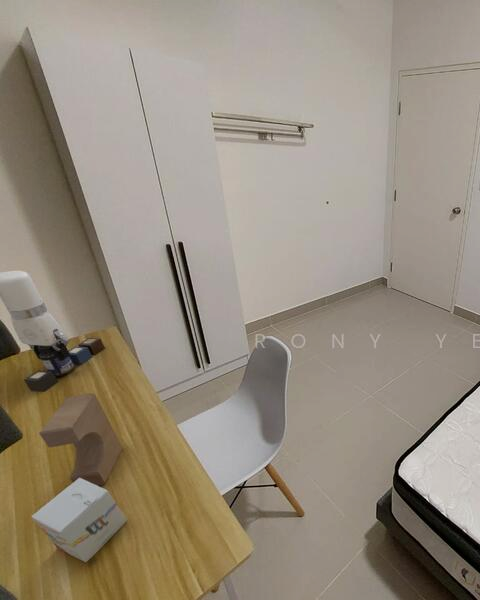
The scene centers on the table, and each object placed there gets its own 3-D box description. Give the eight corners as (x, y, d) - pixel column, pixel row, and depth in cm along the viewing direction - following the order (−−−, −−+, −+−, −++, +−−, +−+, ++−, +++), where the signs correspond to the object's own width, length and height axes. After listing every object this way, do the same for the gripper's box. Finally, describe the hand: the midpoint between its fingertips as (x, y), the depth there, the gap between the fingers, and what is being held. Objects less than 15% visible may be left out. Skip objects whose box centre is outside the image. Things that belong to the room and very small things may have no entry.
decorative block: (104, 485, 78) (69, 428, 69) (75, 491, 77) (35, 433, 67) (124, 447, 88) (96, 391, 78) (99, 451, 86) (66, 395, 77)
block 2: (81, 365, 115) (75, 354, 113) (68, 364, 115) (63, 353, 113) (92, 357, 119) (87, 346, 117) (80, 356, 119) (75, 346, 117)
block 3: (94, 355, 120) (89, 345, 117) (82, 354, 120) (77, 344, 117) (105, 348, 124) (100, 338, 121) (93, 347, 124) (88, 337, 121)
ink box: (55, 548, 67) (27, 515, 61) (100, 508, 74) (79, 475, 68) (85, 564, 65) (59, 532, 59) (128, 521, 72) (109, 488, 66)
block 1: (44, 391, 103) (37, 380, 101) (30, 390, 103) (23, 379, 101) (58, 381, 107) (51, 371, 105) (44, 380, 107) (38, 370, 105)
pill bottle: (75, 363, 114) (61, 337, 109) (74, 372, 110) (60, 346, 105) (50, 369, 111) (35, 343, 106) (49, 379, 107) (33, 352, 102)
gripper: (-14, 315, 96) (17, 363, 105) (44, 318, 96) (70, 366, 104) (14, 303, 103) (40, 349, 111) (68, 306, 103) (90, 352, 111)
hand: (54, 357), depth 108 cm, fingers closed on pill bottle, 6 cm apart
